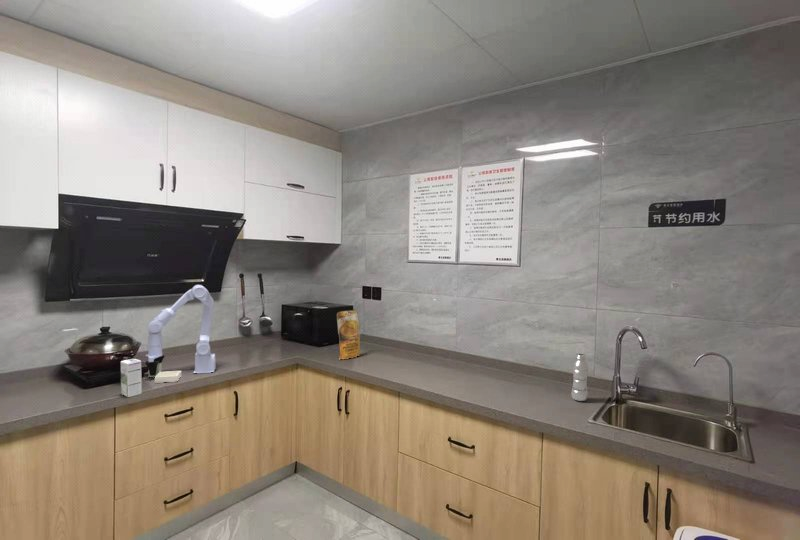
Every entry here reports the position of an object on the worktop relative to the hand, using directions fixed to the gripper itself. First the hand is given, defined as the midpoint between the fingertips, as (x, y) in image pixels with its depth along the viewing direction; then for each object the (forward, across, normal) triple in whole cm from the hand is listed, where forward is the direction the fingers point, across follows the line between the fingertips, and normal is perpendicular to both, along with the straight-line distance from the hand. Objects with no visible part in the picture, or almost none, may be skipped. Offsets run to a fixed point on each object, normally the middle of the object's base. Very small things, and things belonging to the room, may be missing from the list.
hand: (155, 373), depth 196 cm
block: (+2, 0, 0) cm, 2 cm away
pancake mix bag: (+2, -16, +98) cm, 99 cm away
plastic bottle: (+2, +79, +182) cm, 198 cm away
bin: (+2, +8, +8) cm, 11 cm away
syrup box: (+2, +26, -2) cm, 26 cm away
